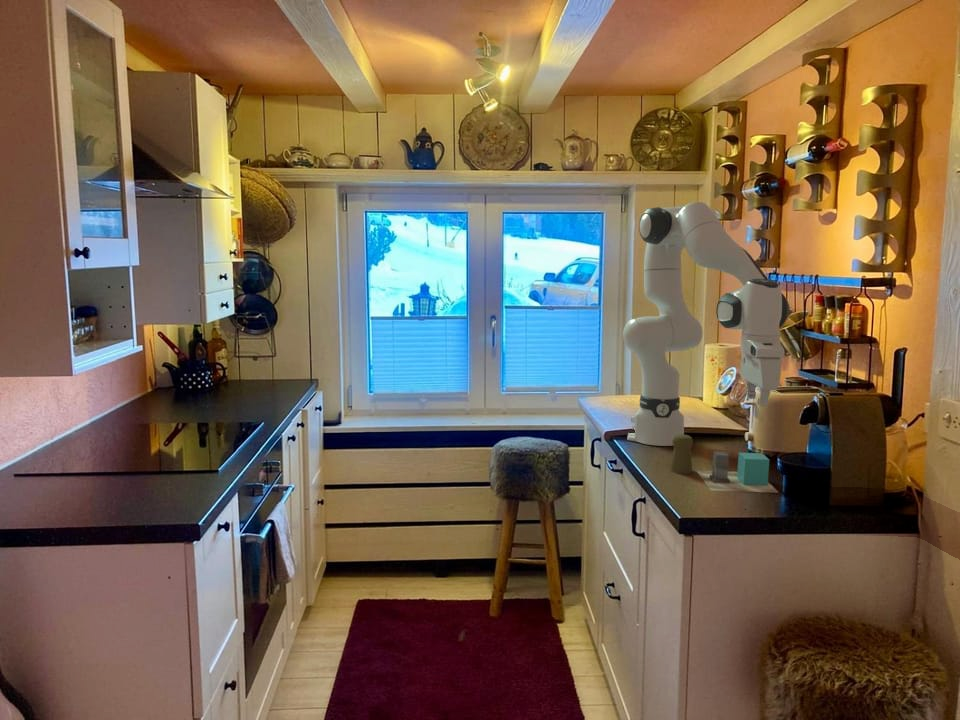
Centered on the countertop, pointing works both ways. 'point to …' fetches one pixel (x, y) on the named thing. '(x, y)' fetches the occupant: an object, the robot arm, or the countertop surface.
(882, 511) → the countertop surface
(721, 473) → the stand
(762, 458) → the teal rounded cube
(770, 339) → the robot arm
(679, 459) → the cork
